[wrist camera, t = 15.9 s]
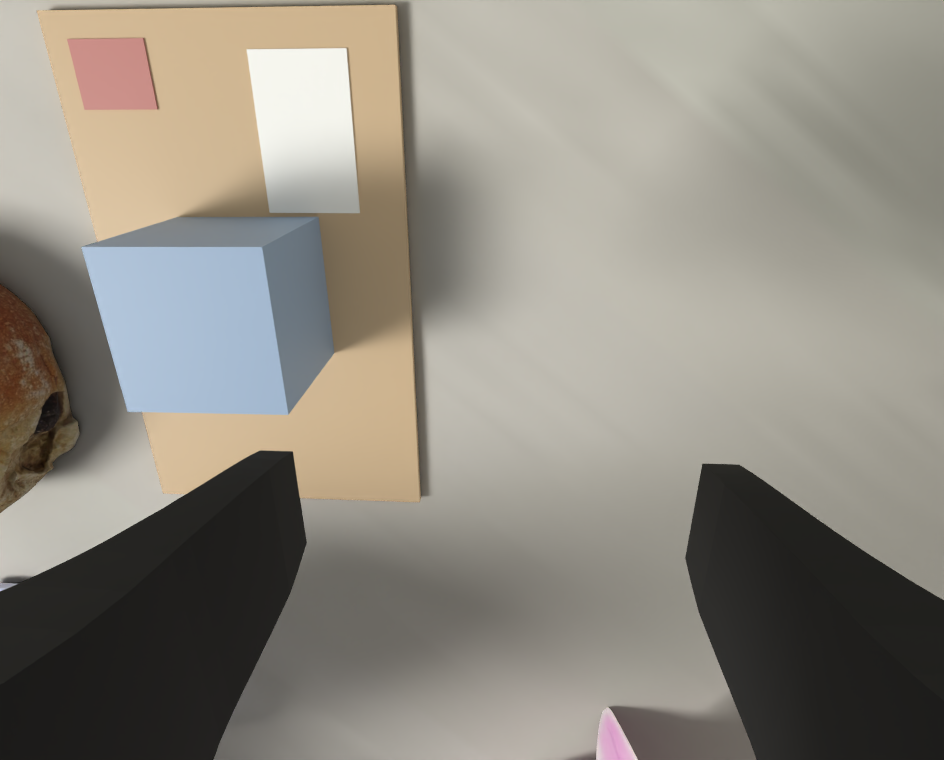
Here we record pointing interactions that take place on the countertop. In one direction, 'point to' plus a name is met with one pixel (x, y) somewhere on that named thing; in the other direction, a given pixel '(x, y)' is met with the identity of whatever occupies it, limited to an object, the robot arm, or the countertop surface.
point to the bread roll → (29, 402)
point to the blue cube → (214, 313)
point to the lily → (612, 740)
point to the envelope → (264, 204)
